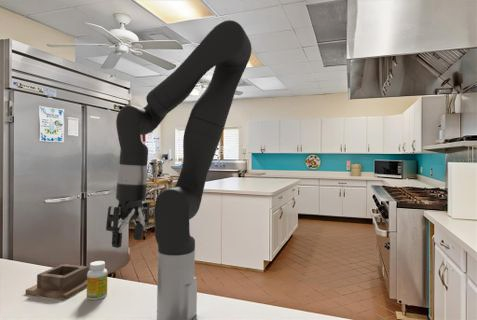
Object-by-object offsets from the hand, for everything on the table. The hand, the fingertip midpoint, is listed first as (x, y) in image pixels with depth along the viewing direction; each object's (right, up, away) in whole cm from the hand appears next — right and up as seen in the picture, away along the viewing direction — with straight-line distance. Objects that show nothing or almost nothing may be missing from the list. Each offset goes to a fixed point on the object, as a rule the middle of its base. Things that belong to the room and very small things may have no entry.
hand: (127, 243), depth 78 cm
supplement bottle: (-12, -18, +8) cm, 23 cm away
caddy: (-25, -18, +13) cm, 33 cm away
